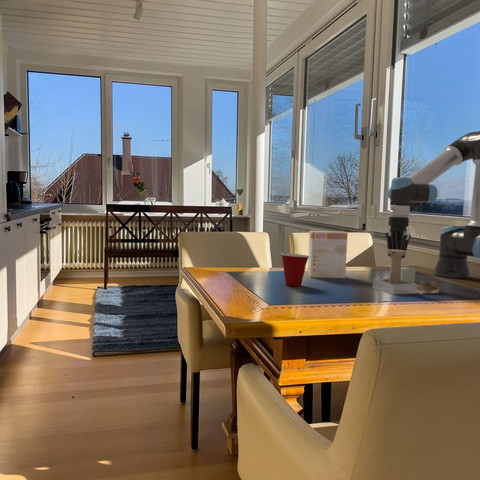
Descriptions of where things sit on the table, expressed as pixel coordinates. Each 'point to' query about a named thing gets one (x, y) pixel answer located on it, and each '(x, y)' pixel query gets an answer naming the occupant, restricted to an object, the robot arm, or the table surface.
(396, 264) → the handle
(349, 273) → the table surface
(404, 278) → the pale green cube
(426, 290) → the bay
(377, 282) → the winch housing
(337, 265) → the coffeecake box
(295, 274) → the plastic cup
